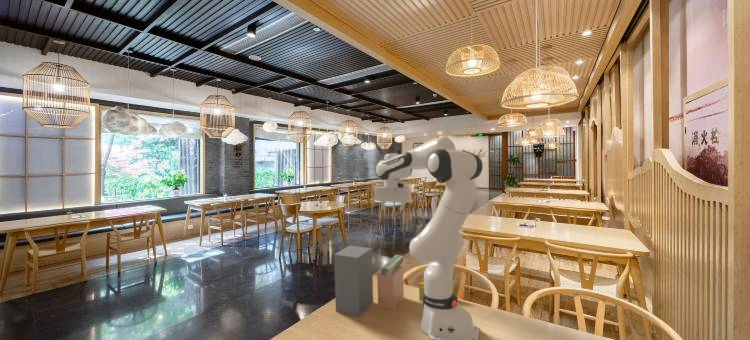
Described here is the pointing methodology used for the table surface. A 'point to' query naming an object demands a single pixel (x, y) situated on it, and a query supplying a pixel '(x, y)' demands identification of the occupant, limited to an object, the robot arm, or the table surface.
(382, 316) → the table surface
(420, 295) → the candy box
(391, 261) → the sage bar
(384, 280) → the terracotta block
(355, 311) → the tall grey pillar
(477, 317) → the table surface
